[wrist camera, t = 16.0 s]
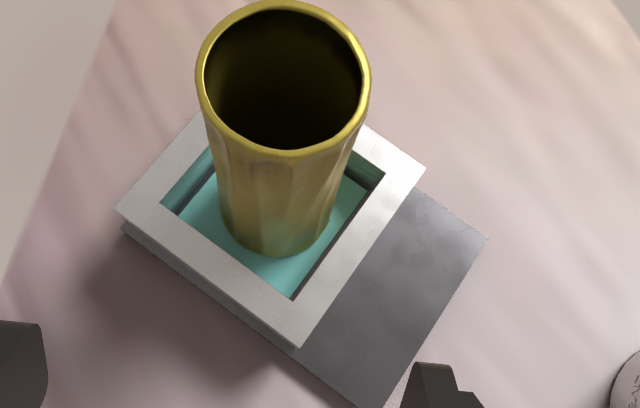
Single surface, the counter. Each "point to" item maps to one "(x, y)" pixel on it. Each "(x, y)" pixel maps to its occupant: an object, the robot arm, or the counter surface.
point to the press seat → (272, 270)
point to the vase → (281, 119)
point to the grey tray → (323, 265)
